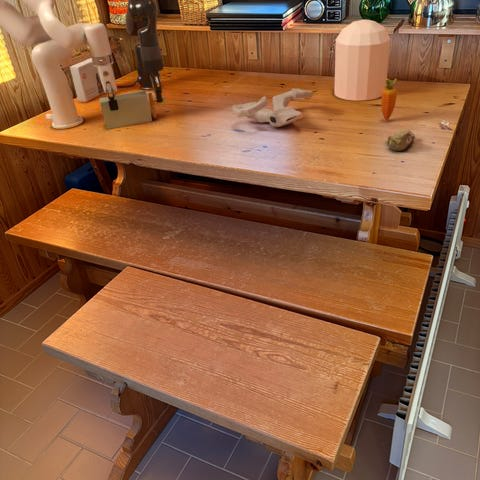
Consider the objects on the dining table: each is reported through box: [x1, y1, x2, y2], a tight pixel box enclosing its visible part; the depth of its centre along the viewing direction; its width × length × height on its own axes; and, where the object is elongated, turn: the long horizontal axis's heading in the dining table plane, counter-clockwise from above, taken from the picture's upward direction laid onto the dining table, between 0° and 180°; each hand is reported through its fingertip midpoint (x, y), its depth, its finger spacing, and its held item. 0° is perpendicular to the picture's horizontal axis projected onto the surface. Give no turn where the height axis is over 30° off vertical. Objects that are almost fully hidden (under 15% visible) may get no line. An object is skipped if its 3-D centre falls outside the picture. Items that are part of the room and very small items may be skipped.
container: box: [333, 19, 391, 102], centre depth 186 cm, size 21×21×28 cm
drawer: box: [147, 92, 168, 119], centre depth 185 cm, size 22×5×9 cm, turn 106°
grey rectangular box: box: [99, 90, 153, 130], centre depth 184 cm, size 18×6×11 cm, turn 106°
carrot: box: [380, 78, 398, 122], centre depth 161 cm, size 5×5×15 cm
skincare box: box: [69, 57, 106, 103], centre depth 218 cm, size 21×6×16 cm, turn 158°
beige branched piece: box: [231, 88, 314, 128], centre depth 171 cm, size 28×26×12 cm
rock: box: [387, 129, 416, 152], centre depth 146 cm, size 11×6×10 cm
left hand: (114, 107), depth 182 cm, fingers closed on grey rectangular box, 6 cm apart
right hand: (160, 102), depth 186 cm, fingers closed
